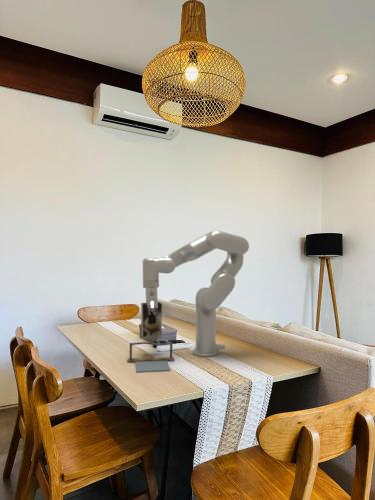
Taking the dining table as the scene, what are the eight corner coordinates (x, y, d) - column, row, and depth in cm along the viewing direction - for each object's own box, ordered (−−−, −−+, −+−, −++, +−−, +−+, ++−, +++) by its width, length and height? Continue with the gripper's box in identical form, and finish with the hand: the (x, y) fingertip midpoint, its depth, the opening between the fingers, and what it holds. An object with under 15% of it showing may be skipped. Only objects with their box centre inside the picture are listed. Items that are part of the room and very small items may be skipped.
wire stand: (173, 359, 158) (174, 341, 158) (174, 362, 154) (175, 343, 154) (127, 360, 155) (127, 342, 155) (127, 363, 151) (127, 344, 151)
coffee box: (143, 339, 158) (142, 304, 158) (141, 336, 165) (140, 302, 165) (162, 338, 161) (162, 303, 161) (159, 334, 167) (159, 301, 167)
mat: (167, 361, 153) (167, 360, 153) (170, 370, 142) (170, 369, 142) (135, 363, 151) (135, 361, 151) (136, 372, 139) (136, 371, 139)
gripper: (160, 285, 155) (161, 325, 155) (157, 282, 172) (157, 318, 172) (143, 286, 153) (144, 326, 154) (142, 282, 171) (142, 318, 171)
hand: (151, 321), depth 163 cm, fingers closed on coffee box, 6 cm apart
